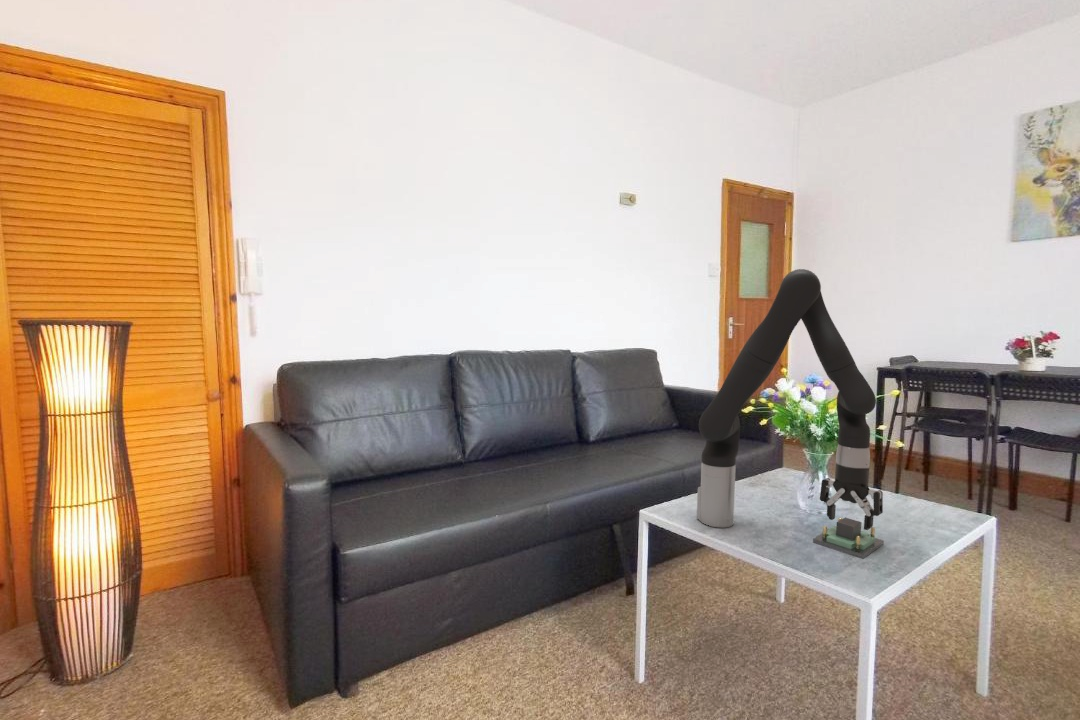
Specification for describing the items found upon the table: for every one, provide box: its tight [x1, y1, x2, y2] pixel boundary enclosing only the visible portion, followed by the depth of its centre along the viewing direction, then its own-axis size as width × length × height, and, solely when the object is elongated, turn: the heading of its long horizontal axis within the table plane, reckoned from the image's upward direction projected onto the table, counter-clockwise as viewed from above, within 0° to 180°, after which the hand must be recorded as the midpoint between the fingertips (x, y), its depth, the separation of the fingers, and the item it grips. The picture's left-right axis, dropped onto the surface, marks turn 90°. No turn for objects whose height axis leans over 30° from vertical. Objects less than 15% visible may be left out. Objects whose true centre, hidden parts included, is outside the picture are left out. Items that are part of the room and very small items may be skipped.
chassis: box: [812, 517, 885, 559], centre depth 142 cm, size 12×13×4 cm
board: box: [821, 517, 876, 550], centre depth 142 cm, size 10×11×5 cm
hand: (849, 524), depth 142 cm, fingers open, 8 cm apart
